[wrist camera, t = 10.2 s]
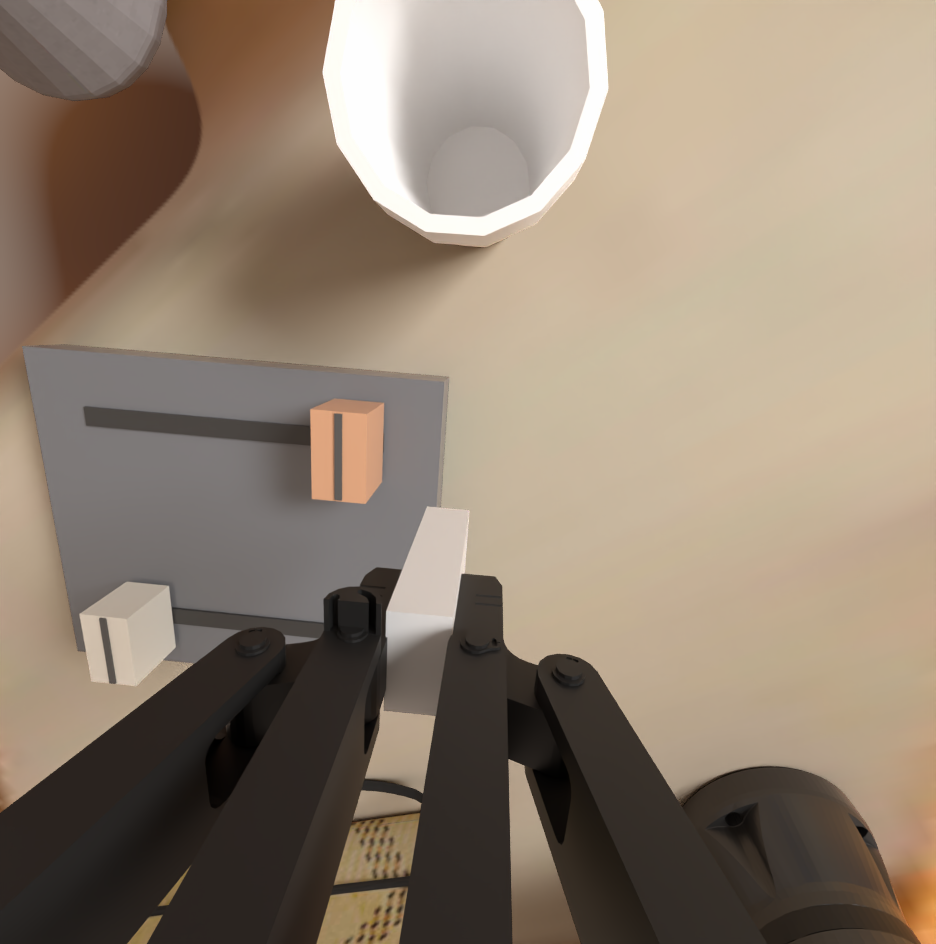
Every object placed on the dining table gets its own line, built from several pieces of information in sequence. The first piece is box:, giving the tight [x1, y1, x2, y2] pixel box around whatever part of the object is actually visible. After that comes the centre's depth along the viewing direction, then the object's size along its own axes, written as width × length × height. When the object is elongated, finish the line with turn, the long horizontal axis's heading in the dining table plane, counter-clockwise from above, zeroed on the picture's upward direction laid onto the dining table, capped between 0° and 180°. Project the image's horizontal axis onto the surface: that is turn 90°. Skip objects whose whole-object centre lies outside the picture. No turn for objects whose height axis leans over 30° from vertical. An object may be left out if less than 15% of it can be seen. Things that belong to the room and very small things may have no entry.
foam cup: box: [323, 0, 608, 247], centre depth 22 cm, size 10×9×13 cm
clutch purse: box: [127, 780, 423, 944], centre depth 36 cm, size 30×7×15 cm, turn 104°
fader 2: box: [310, 399, 384, 504], centre depth 28 cm, size 5×3×4 cm, turn 175°
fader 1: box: [79, 582, 176, 686], centre depth 32 cm, size 5×3×4 cm, turn 175°
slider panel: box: [22, 345, 449, 663], centre depth 34 cm, size 22×26×3 cm
